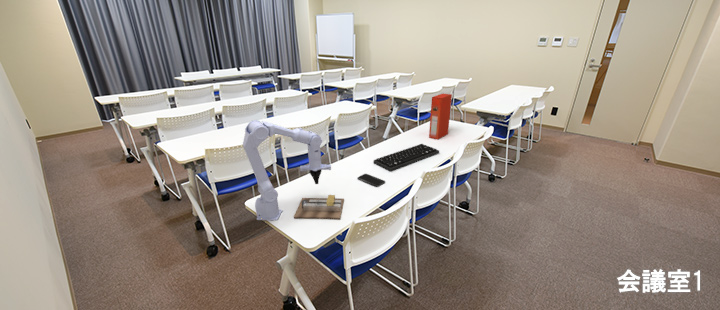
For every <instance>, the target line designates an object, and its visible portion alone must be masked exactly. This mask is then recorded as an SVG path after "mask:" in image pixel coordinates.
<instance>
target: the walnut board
mask: <svg viewBox="0 0 720 310" xmlns="http://www.w3.org/2000/svg"><path fill="white" fill-rule="evenodd" d="M310 199H311V200H327V199H328V197H326V198H324V197H316V198H315V197H301V200H300V202H299V204H298V206H297V208H296V211H295V213H294V215H293V219H295V220H296V219H297V220H298V219H299V220H300V219H302V220H304V219H306V220H337V221H338V220H341V218H342V213H343V208H344V204H345V203H344V202H345V198H337V197H335V200H341V205H342V206H341V211H340V212H323V211H304V209H303V208H302V200H308V203H309V200H310Z"/></svg>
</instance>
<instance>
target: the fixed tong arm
mask: <svg viewBox="0 0 720 310" xmlns="http://www.w3.org/2000/svg"><path fill="white" fill-rule="evenodd" d="M301 200H302V199H301ZM302 208H303V209H304V211H323V212H340V211H341V204H334V205H333V206H327V204H319V203H308V200H302Z"/></svg>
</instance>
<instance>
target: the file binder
mask: <svg viewBox="0 0 720 310" xmlns="http://www.w3.org/2000/svg"><path fill="white" fill-rule="evenodd" d="M452 95H453V94H452V93H451V94H450V93H441V94H438V95H435V96H432V97H431V103H430V105H431V106H430V107H431V108H430V117H429V118H430V119H429V120H430V121H429V132H428V133H429V134H428V138H429V139H433V140H440V139H442V138H444V137H446V136H447V135H448V134H449V129H450V128H449V127H450V118H451V117H450V115H451V107H452V98H453V96H452Z"/></svg>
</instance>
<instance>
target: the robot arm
mask: <svg viewBox="0 0 720 310" xmlns="http://www.w3.org/2000/svg"><path fill="white" fill-rule="evenodd" d="M244 129H245V130H244V132H245V133H244V137H243V142H242V148H243V150H244V152H245V155H246V157H247V159H248V162H249V164H250V166H251V169H252V172H253V174H254V175H255V176H254V177H255V179H256V181H257V182H256V183H257V191H258V193H259V194H260V197H257V198H256V200H255V203H254V207H255V208H254V209H255V214H256V220H257V221H278V220H279V217H281V216H280V215H281V214H282V212H283V209H280V208H279V207H280V206H279V201H278V200H279V199H278V197H279V196H278V195H279V193H278V191H277V189H275V187H274V186H273V184H272V183H271V180H270V178H269V176H268V173H267V170H266V168H265V166H264V163H263V160H262V158H261V155H260V152H259V149H258V147H259V146H260V144H262V143H263V142H264V141H265V140H267V138H268V137H270V138H271V137H272V136H274V135H278V136H283V137H287V138H291V140H292V141H293V142H296V143H300V144H304V145H307V152H308V153H307V155H308V164H305V165H300V167H299V172H304V171H309V175H311V178H312V179H313V182H314V185H319V179H320V177H321V174H322V171H323V170H324V171H326V170H327V171H332V165H331V164H325V163H322V155H321V154H322V153H321V145H322V143H323V139H322V138H321V136H320V135H319V134H318V133H316V132H315V131H314V132H313V131H312V130H309V131H308V130H305V129H303V128H302V127H296V128H293V129H291V128H287V127H284V126H281V125H278V124H274V123H271V122H268V121H263V120H262V121H260V120H257V119H254V120H251V121H249V122H248V124H247V125H246V126H245V128H244ZM261 218H262V219H261Z"/></svg>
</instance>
